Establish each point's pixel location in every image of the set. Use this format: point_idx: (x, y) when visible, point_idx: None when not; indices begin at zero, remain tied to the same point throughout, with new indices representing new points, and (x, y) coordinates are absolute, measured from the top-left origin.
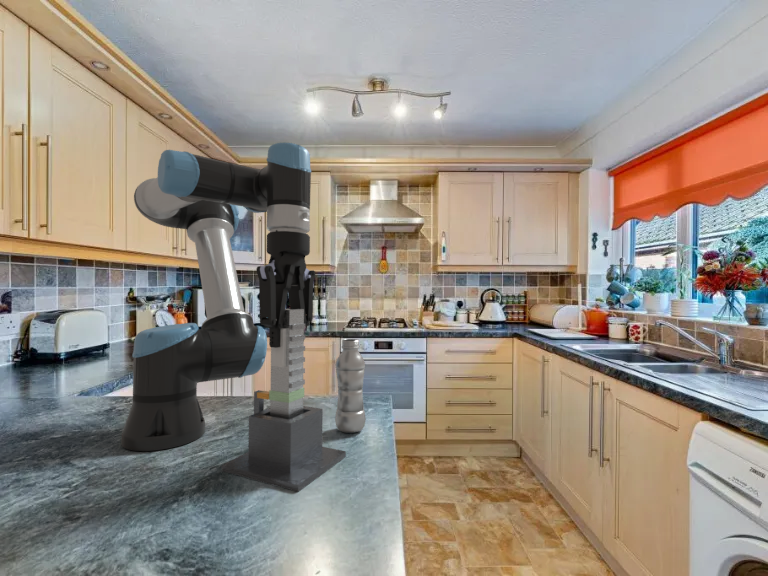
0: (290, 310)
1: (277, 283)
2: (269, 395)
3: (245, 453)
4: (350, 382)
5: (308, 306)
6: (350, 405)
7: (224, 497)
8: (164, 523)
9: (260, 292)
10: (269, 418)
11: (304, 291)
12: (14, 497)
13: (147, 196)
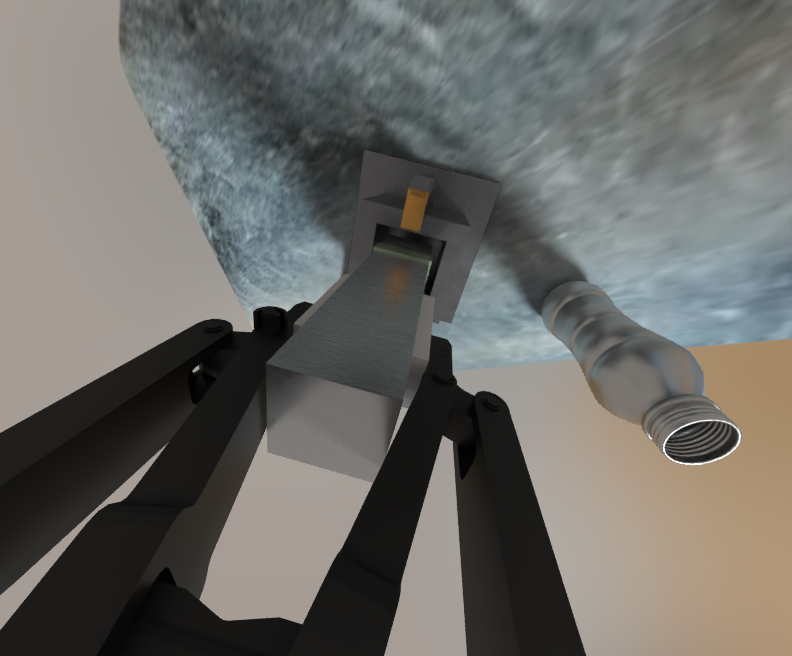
0: (274, 451)
1: (135, 587)
2: (376, 244)
3: (415, 163)
4: (580, 361)
5: (458, 503)
6: (560, 333)
7: (307, 209)
8: (241, 174)
9: (16, 434)
10: (361, 250)
11: (480, 614)
12: None
13: None
